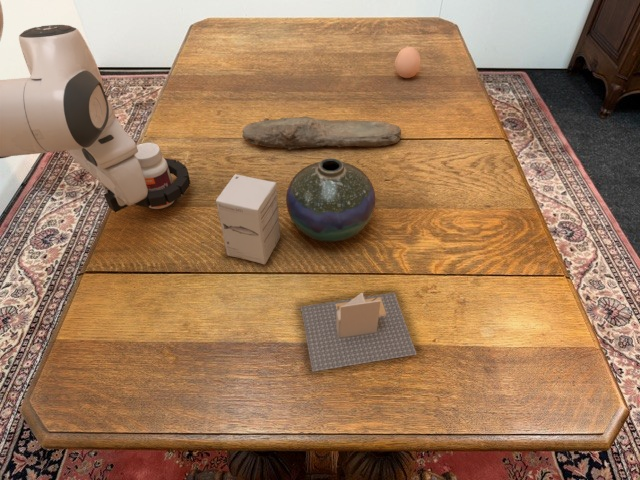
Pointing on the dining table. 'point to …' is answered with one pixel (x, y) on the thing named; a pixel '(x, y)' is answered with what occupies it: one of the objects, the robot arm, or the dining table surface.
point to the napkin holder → (356, 331)
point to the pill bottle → (154, 168)
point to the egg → (407, 62)
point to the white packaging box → (249, 218)
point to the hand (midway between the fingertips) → (117, 198)
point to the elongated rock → (320, 133)
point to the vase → (330, 200)
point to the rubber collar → (160, 195)
